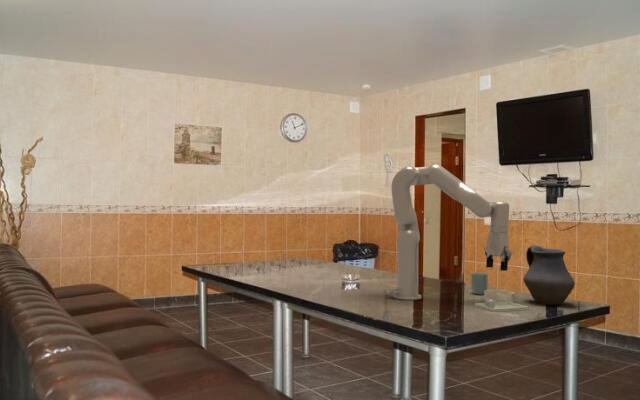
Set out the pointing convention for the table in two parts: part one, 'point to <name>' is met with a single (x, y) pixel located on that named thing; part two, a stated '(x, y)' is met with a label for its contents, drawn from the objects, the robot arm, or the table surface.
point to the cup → (479, 282)
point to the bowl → (499, 296)
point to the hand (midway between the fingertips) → (496, 268)
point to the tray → (503, 307)
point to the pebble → (490, 303)
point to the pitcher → (547, 276)
